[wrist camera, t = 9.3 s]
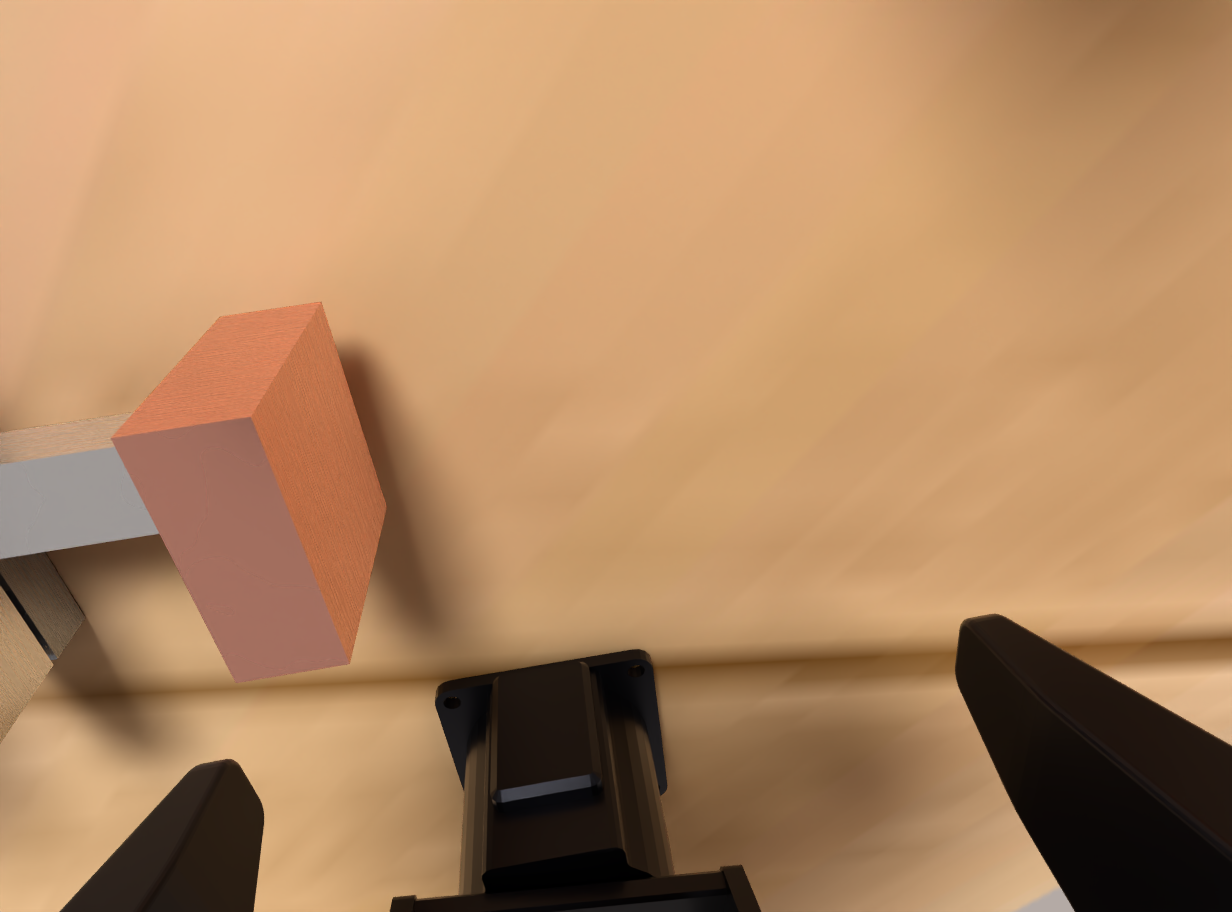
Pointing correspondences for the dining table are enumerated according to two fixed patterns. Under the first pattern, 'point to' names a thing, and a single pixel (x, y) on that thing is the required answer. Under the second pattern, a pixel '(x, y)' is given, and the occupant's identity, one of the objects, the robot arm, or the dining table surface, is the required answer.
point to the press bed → (41, 600)
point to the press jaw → (215, 497)
